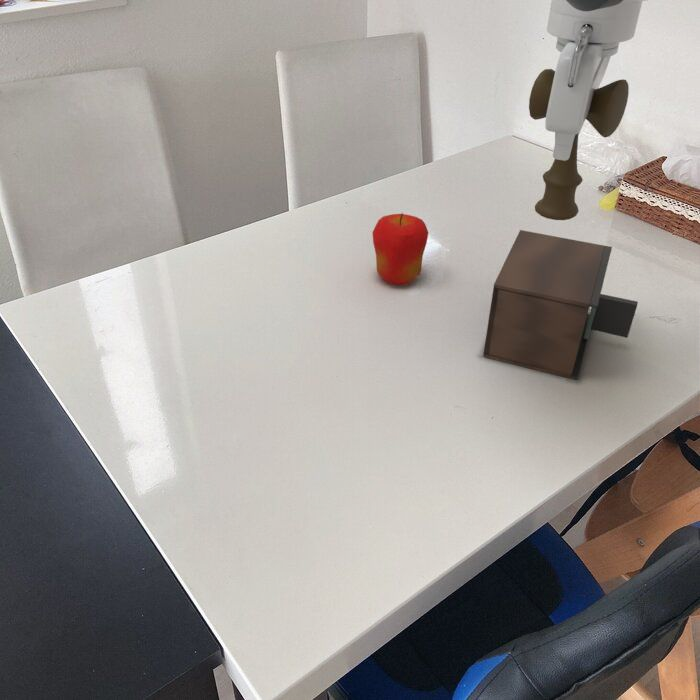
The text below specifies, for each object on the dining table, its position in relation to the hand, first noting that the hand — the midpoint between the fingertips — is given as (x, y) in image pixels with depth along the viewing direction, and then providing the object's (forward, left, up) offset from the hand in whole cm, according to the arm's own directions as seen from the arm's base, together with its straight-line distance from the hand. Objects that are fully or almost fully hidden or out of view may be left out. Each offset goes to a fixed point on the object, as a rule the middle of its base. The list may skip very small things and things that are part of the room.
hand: (566, 146), depth 79 cm
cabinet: (-1, -3, -29) cm, 30 cm away
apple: (+23, -10, -30) cm, 39 cm away
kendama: (0, 0, -9) cm, 9 cm away
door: (-10, -8, -29) cm, 31 cm away
